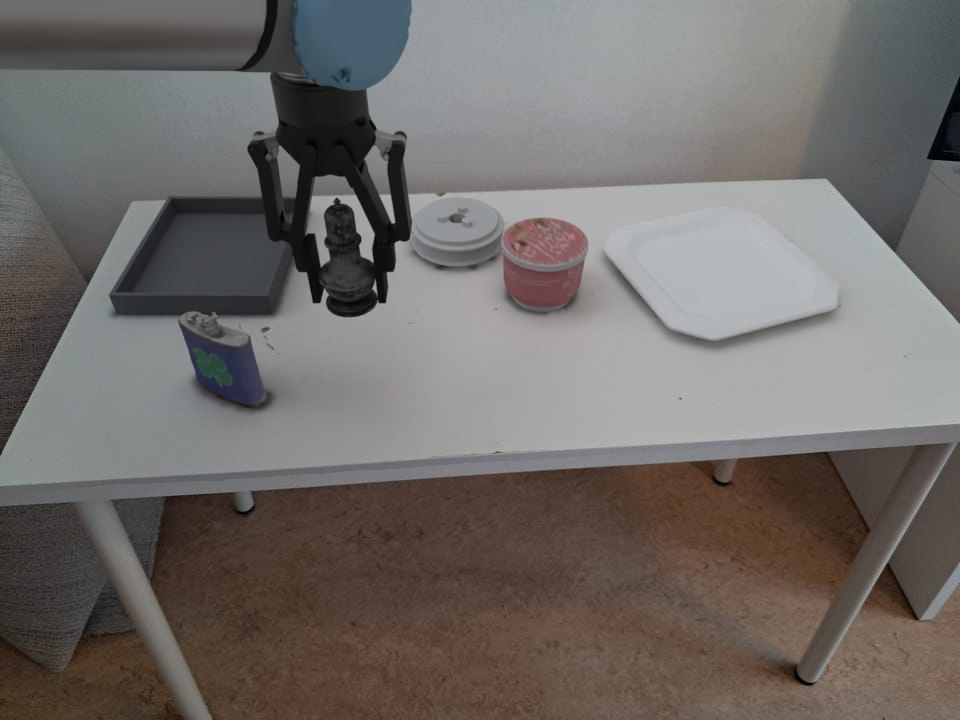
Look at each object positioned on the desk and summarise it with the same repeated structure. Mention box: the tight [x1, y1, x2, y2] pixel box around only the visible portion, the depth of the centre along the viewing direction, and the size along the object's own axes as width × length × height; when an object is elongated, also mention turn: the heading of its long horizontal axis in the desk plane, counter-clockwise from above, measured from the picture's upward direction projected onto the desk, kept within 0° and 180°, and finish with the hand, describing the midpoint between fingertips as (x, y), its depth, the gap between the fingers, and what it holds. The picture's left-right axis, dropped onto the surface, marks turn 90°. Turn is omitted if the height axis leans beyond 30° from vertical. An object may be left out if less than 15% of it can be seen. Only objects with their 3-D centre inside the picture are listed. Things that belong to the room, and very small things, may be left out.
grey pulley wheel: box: [411, 196, 505, 267], centre depth 99 cm, size 13×13×5 cm
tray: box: [108, 195, 296, 315], centre depth 97 cm, size 23×19×3 cm
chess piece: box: [318, 196, 378, 318], centre depth 70 cm, size 6×6×12 cm
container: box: [501, 217, 590, 313], centre depth 90 cm, size 10×10×8 cm
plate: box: [602, 205, 842, 342], centre depth 95 cm, size 25×25×2 cm
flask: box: [177, 311, 268, 409], centre depth 76 cm, size 9×3×11 cm, turn 61°
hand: (351, 294), depth 74 cm, fingers closed on chess piece, 6 cm apart
